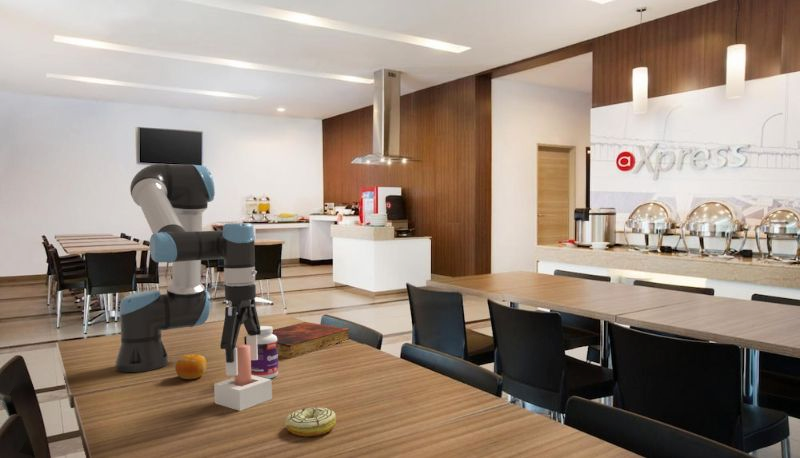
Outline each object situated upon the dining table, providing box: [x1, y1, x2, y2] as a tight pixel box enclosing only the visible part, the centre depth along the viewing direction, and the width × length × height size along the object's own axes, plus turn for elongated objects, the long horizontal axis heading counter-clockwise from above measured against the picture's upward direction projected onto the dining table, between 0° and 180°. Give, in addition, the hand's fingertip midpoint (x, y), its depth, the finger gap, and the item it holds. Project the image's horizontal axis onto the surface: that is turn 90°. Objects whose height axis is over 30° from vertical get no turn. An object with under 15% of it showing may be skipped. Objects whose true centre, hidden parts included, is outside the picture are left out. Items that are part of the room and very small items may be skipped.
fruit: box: [175, 353, 208, 380], centre depth 160 cm, size 8×8×8 cm
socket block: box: [213, 375, 273, 412], centre depth 139 cm, size 10×10×5 cm
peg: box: [234, 344, 251, 386], centre depth 138 cm, size 4×4×14 cm
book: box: [243, 321, 351, 359], centre depth 198 cm, size 30×24×5 cm
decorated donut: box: [285, 407, 337, 438], centre depth 120 cm, size 10×11×4 cm
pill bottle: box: [251, 325, 279, 379], centre depth 159 cm, size 8×8×14 cm
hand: (242, 367), depth 138 cm, fingers open, 13 cm apart
